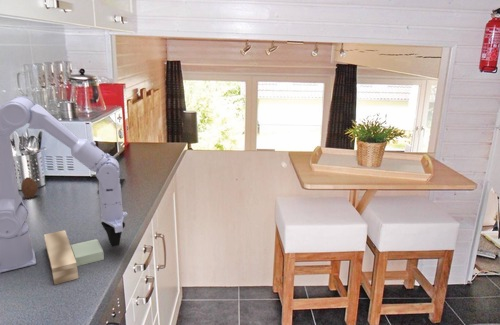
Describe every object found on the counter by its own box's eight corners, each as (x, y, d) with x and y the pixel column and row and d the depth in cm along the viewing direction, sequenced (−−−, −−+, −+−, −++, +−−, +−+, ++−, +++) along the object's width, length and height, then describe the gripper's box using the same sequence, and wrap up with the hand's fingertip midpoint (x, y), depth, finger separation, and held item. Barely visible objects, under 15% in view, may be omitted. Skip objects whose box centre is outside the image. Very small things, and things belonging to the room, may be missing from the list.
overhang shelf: (54, 284, 97) (52, 268, 95) (46, 248, 113) (43, 234, 112) (78, 278, 100) (76, 262, 98) (66, 244, 116) (65, 230, 114)
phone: (96, 192, 153) (107, 179, 167) (96, 195, 153) (107, 181, 167) (117, 192, 153) (126, 178, 168) (117, 194, 154) (126, 181, 168)
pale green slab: (76, 266, 105) (75, 258, 104) (71, 252, 111) (70, 244, 110) (104, 259, 108) (103, 251, 107) (98, 246, 115) (97, 238, 114)
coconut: (19, 198, 147) (16, 178, 145) (32, 194, 151) (29, 174, 149) (29, 201, 145) (26, 180, 143) (41, 196, 149) (38, 176, 147)
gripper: (133, 207, 105) (136, 252, 109) (119, 190, 117) (122, 231, 121) (105, 212, 102) (109, 259, 106) (94, 194, 113) (98, 236, 117)
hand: (115, 245), depth 113 cm, fingers closed
